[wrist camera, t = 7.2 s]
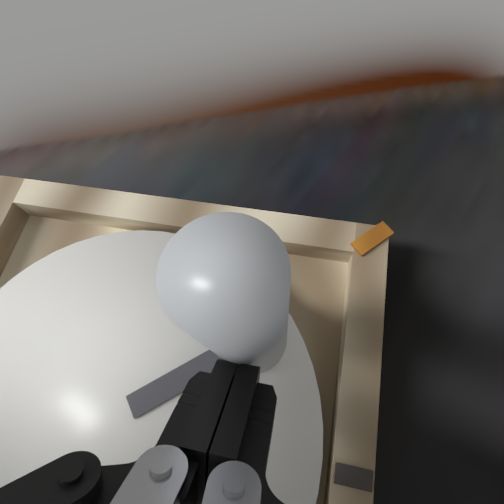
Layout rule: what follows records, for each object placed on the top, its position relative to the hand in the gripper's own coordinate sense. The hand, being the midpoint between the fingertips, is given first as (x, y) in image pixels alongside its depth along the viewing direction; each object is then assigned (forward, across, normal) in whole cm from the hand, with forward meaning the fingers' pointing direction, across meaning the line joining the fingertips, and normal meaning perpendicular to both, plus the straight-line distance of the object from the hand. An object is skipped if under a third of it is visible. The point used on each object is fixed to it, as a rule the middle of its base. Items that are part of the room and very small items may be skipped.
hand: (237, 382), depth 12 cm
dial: (+2, +5, +5) cm, 8 cm away
